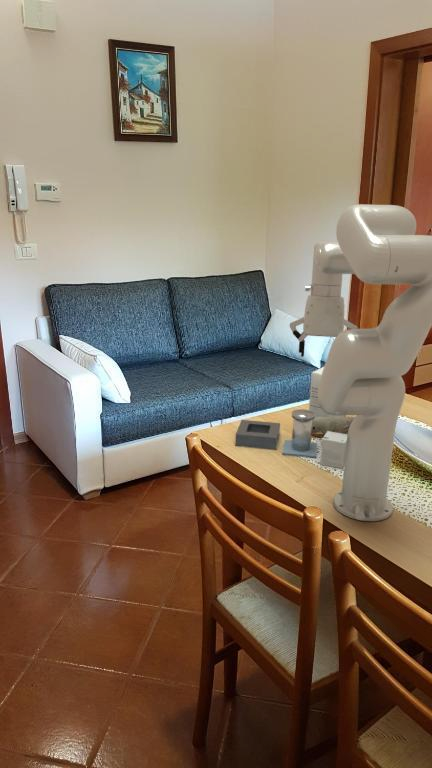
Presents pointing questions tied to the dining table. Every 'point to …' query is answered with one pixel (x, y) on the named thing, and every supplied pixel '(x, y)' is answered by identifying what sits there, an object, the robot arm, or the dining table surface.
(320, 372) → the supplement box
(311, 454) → the mat
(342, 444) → the skincare box
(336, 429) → the decorative bird
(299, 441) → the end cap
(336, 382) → the robot arm
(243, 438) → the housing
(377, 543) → the dining table surface
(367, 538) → the dining table surface
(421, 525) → the dining table surface
